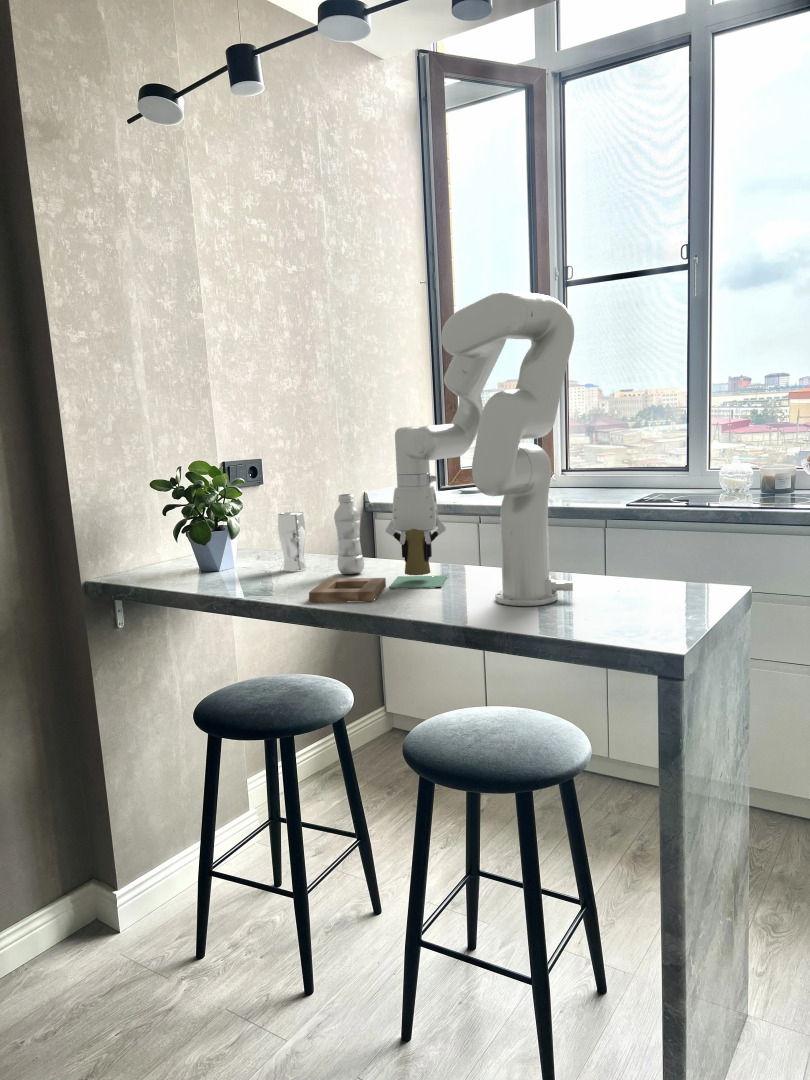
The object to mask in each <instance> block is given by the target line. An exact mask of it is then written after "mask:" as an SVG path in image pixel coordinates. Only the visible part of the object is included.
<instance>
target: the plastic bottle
mask: <svg viewBox="0 0 810 1080" xmlns="http://www.w3.org/2000/svg"><path fill="white" fill-rule="evenodd" d="M354 496H355V495H354V493H344V494H339V495H338V504H339V505H338V506H337V508H336V510H335V511H334V514H333V520H334V525H335V529H336V535H337V542H338V550H337V553H338V554H337V555H338V556H337V568H338V571H339V572H340V573H341V574H344V575H349V574H352V575H355V574H359V573H362V572H363V570H364V569H365V560H364V556H363V554H362V552H363V551H362V545H361V537H360V536H361V534H360V533H361V530H360V529H361V513H360V511H359V509H358V508H357V507H356V505H355V504H354V502H355V499H354V498H355V497H354Z"/></svg>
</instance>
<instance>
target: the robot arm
mask: <svg viewBox="0 0 810 1080" xmlns="http://www.w3.org/2000/svg"><path fill="white" fill-rule="evenodd" d="M440 338H441V344H442V347H443V349H444V350H445V352H446V353H448V354H449V355H451V356H452V358H451V361H450V363H449V366H448V367H447V370H446V372H445V374H444V376H443V383H444V384H445V387H446V388H447V389H448V390H449V391H451V393H453V394H454V395H456V397H457V396H458V406H457V409H456V412H455V414H454V415H453V419H452V421H451V422H450V423H443V424H432V425H422V426H421V425H420V426H402V427H398V428H397V429H396V430H395V433H394V445H395V449H394V450H395V464H396V465H395V467H396V485H397V487H395V488H394V492H393V497H392V498H393V499H392V518H391V520H390V522H389V524H388V525H387V527H386V529H385V532H386V533H387V534H389V536H392V537H393V538H394V539H396V540H397V542H398V543H399V544H400V545H401V557H402V558H403V559H404V562H405V563H406V562H407V556H408V548H407V539H406V531H409V530H411V529H417V530H421V531H424V536H425V544H424V558H425V561H428V560H430V558H431V557H432V556H433V555H432V554H433V553H432V543H433V542H434V541H435V540H436V538H437V537H438V536H440V535H441V534H443V533H444V532H446V530H447V527H446V525H445V524H444V523H443V522H442V520H441V519H440V517H439V513H438V512H439V511H438V504H437V503H438V502H437V496H436V491H435V490H436V489H435V487H434V485H433V486H432V485H431V484H432V483H433V482H437V475H433V474H431V472H430V470H431V469H430V461H435V460H442V459H453V458H459V457H461V456H463V455H464V454H466V453H467V452H468V450H469V449H470V448H471V446H472V444H473V442H474V441H475V445H474V452H473V457H472V463H471V476H472V479H473V480H472V481H473V484H474V485H475V488H476V489H477V490H478V491H479V492H480V493H481V494H483V495H485V496H488V497H500V496H503V498H502V502H501V505H500V512H499V519H500V520H499V522H500V524H499V526H500V554H501V555H500V556H501V577H502V579H501V580H502V581H501V582H502V590H500V591H497V592H496V593H495V595H494V596H495V598H494V600H495V601H496V602H497V603H499V604H502V605H508V606H515V607H516V606H517V607H533V606H534V607H535V606H542V605H548V604H552V603H554V602H556V601H557V600H558V599H559V596H558V591H559V592H561V591H563V592H573V590H574V588H573V587H574V586H573V585H574V584H573V581H567V580H555V579H552V575H551V574H550V551H549V550H550V549H549V548H550V547H549V544H550V543H549V493H550V487H551V479H552V463H551V459H550V456H549V455H548V453H547V452H546V451H545V449H543V447H541V446H539V445H537V444H534V443H521V441H526V440H527V441H528V440H534V439H535V440H536V439H540V438H543V437H545V436H547V435H548V434H549V433H550V432H551V431H552V429H553V427H554V426H555V425H554V424H555V422H556V418H557V412H558V408H559V404H560V399H561V393H562V391H563V385H564V380H565V374H566V371H567V370H566V369H567V367H568V362H569V360H570V356H571V352H572V348H573V346H574V345H573V344H574V340H575V339H574V338H575V326H574V321H573V318H572V315H571V313H570V311H569V309H568V308H567V307H566V306H565V305H564V303H562V302H560V301H559V300H558V299H556V298H554V297H551V296H550V295H545V294H540V293H535V292H533V293H532V292H522V291H513V290H502V291H498V292H494V293H491V294H489V295H487V296H485V297H482V298H481V299H479V300H477V301H475V302H473V303H471V304H469V305H468V306H467V305H466V306H465V307H463V308H461V309H459V310H458V311H456V312H454V313H453V314H452V315H450V316H449V317H448V319H447V320H446V321H445V323H444V324H443V327H442V331H441V336H440ZM507 339H508V340H509V339H510V340H529V341H531V346H530V347H529V348H528V350H527V352H526V353H525V355H524V357H523V359H522V362H521V364H520V368H519V374H518V379H517V383H516V386H515V388H514V389H505V390H501V391H499V392H496V393H494V394H493V395H492V396H491V397H490V398H489V399H488V400H487V401H486V403H485V405H484V406H483V400H482V393H483V390H484V388H485V386H486V384H487V382H488V380H489V377H490V376H491V374H492V372H493V370H494V368H495V366H496V363H497V362H498V359H499V357H500V355H501V353H502V352H503V349H504V347H505V345H506V343H507ZM475 438H476V439H475ZM436 527H437V529H436ZM435 529H436V530H435ZM433 530H435V531H433Z"/></svg>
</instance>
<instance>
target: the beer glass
mask: <svg viewBox="0 0 810 1080" xmlns="http://www.w3.org/2000/svg"><path fill="white" fill-rule="evenodd" d="M277 529H278V530H277V531H278V538H279V542H280V546H281V550H282V554H283V567H282V569H283V570H282V571H283V572H286V573H296V572H303V571H306V570H307V565H306V561H305V542H306V524H305V517H304V512H303V511H288V512H280V513H278V514H277Z"/></svg>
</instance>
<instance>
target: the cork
mask: <svg viewBox="0 0 810 1080" xmlns="http://www.w3.org/2000/svg"><path fill="white" fill-rule="evenodd" d="M406 539H407V548H408V556H407V562H405V565H404V566H405V567H404V575H405V576H426V575H429V574H431V566H430V561H429V560H430V559H429V560H428V561H425V558H424V544H425V541H426V540H425V536H424V531H421V530H417V529H411V530H409V531H406Z"/></svg>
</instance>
